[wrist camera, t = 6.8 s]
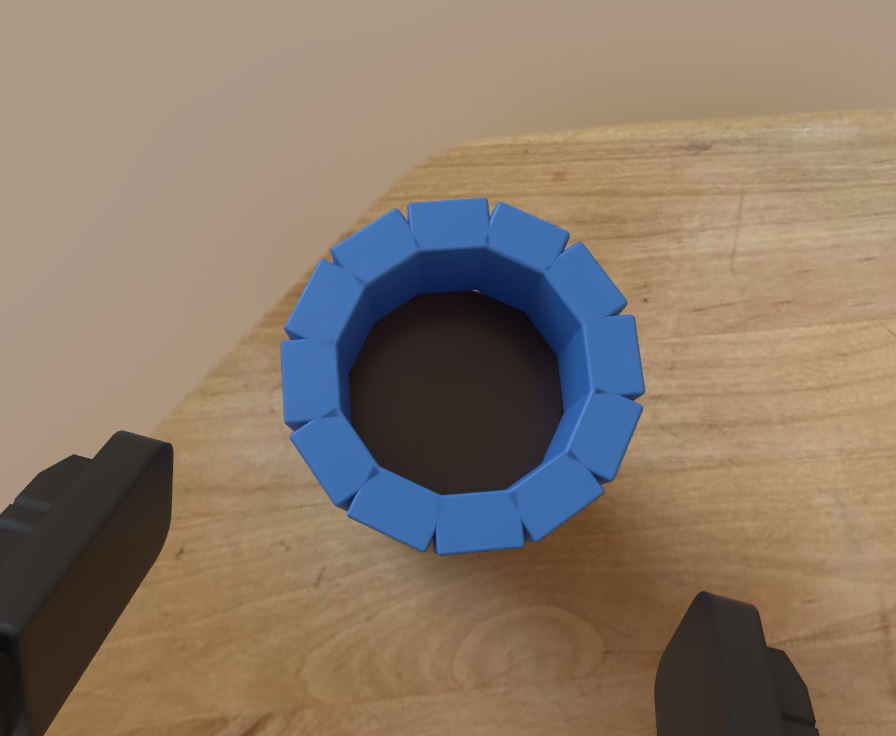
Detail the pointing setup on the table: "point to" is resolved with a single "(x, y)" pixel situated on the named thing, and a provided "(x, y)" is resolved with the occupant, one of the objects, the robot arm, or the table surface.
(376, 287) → the tape roll
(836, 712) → the table surface
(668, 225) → the table surface
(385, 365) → the riser block
